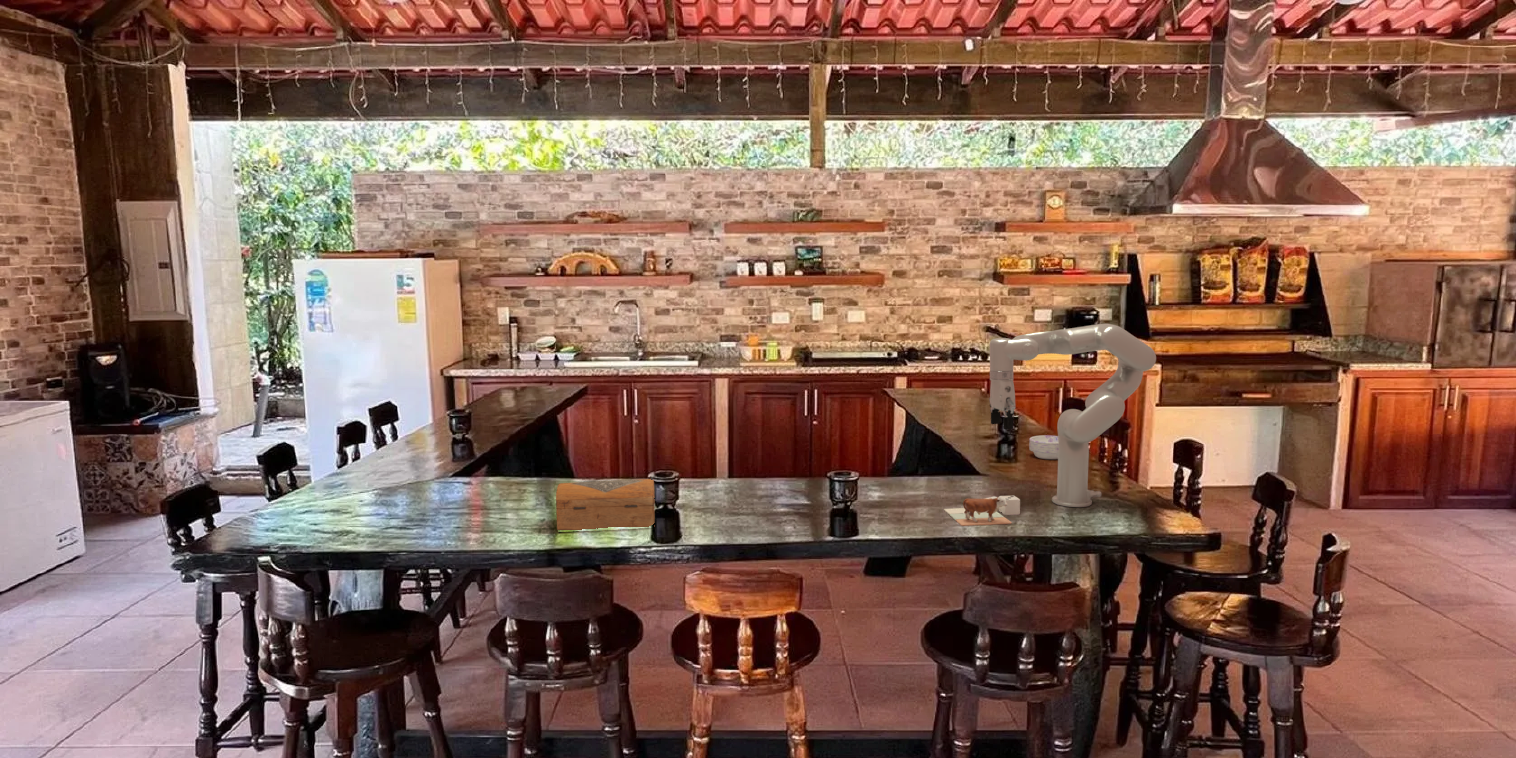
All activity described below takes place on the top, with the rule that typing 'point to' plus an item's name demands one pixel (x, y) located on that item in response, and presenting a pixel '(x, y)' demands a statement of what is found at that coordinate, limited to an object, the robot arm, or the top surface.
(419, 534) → the top surface
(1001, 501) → the bull figurine
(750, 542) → the top surface
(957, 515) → the game board
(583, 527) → the wooden box
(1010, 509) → the die
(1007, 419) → the robot arm
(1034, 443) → the paper bowls
